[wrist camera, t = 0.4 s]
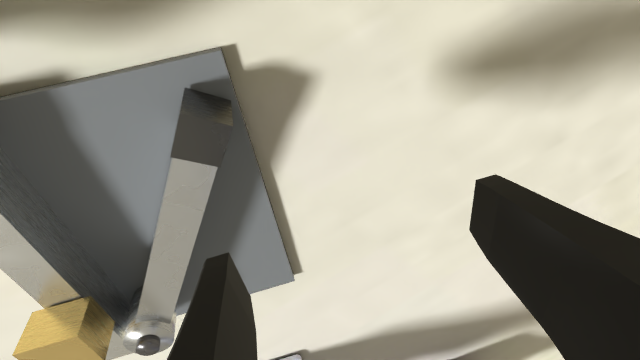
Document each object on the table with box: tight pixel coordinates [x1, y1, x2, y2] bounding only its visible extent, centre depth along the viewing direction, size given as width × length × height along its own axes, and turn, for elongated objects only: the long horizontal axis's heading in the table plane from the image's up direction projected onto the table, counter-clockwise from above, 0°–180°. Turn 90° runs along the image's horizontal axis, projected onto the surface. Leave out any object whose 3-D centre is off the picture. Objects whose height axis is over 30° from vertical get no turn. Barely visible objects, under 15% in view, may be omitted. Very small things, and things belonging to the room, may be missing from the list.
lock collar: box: [13, 296, 115, 360], centre depth 18 cm, size 2×3×2 cm
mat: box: [0, 47, 295, 316], centre depth 20 cm, size 16×12×1 cm
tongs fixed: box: [0, 147, 133, 360], centre depth 17 cm, size 16×2×3 cm, turn 8°
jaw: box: [123, 87, 233, 356], centre depth 18 cm, size 15×3×4 cm, turn 156°
